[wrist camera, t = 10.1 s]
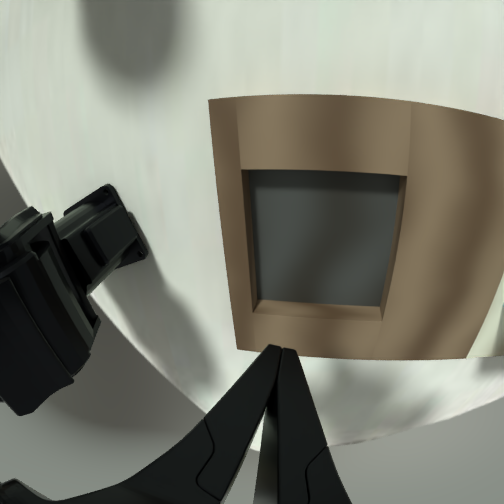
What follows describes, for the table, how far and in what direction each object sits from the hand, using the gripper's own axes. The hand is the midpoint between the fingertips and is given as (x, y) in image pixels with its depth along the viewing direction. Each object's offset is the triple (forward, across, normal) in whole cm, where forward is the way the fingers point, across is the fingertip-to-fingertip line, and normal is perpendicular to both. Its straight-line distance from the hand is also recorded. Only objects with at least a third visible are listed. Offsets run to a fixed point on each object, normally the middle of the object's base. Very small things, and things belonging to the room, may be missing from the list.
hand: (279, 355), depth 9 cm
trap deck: (+12, -15, -1) cm, 19 cm away
